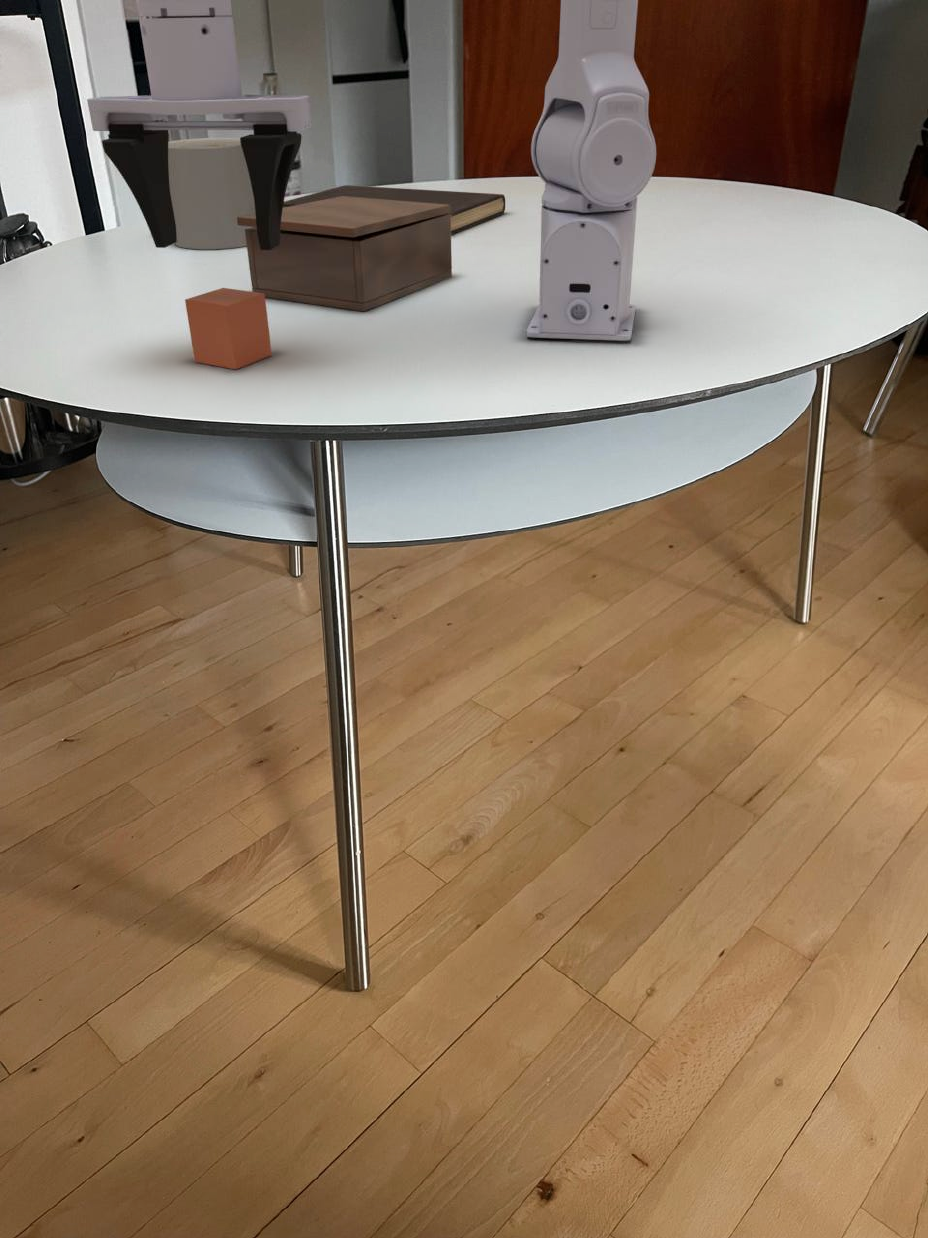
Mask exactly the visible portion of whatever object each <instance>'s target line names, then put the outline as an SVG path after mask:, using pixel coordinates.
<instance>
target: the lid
mask: <svg viewBox="0 0 928 1238" xmlns="http://www.w3.org/2000/svg"><path fill="white" fill-rule="evenodd" d="M450 212H451V210H450V205H446V204H433V203H421V202H409V201H397V200H384V199H372V198H360V197H348V196H340V197H335V198H330V199H325V200H320V201H315V202H310V203H305V204H300V205H295V206H290V207H285V208H283V210H282V217H281V227H280V230H287V231H296V232H306V233H315V234H325V235H335V236H344V237H357V236H361V235H365V234H369V233H373V232H377V231H381V230H385V229H389V228H393V227H397V226H401V225H404V224H408V223H412V222H416V221H420V220H424V219H428V218H432V217H436V216H440V215H444V214H448V213H450ZM237 223H238V225H239V226H248V227H257V225H256V214H255V213H254V214H249V215H244V216H239V217H237Z"/></svg>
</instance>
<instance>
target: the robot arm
mask: <svg viewBox="0 0 928 1238" xmlns="http://www.w3.org/2000/svg"><path fill="white" fill-rule="evenodd" d="M135 2H136V9H137V16H138V18H139V19H138V20H139V27H140V33H141V39H142V46H143V51H144V52H143V53H144V57H145V58H144V59H145V64H146V70H147V77H148V82H149V89H150V95H127V96H126V95H125V96H124V95H123V96H120V95H119V96H117V95H116V96H97V97H90V98H87V99H86V100H87V107H88V112H89V117H90V123H91V127H92V128H91V129H92V131H93V132H108V134H107V136H108V138H106V139H102V140H101V144H102V148H103V152H104V154H105V155H106V156H107V157H108V159H109V160H110V161H111V162H112V164H113V165H114V167H115V168H116V169H117V171H118V172H119V174H120V175H121V177H122V179H123V180H124V182H125V184H126V185H127V186H128V188H129V190H130V191H131V194H132V195H133V197H134V199H135V201H136V203H137V205H138V207H139V210H140V211H141V213H142V215H143V218H144V220H145V222H146V225H147V227H148V230H149V232H150V236H151V238H152V240H153V244H154V246H155V248H161V249H164V248H165V249H166V248H167V247H169V246H172V245H173V244H174V245H175V243H176V242H177V235H176V223H175V217H174V211H173V206H172V200H171V194H170V185H169V168H168V142H169V141H170V140H169V138H170V134H169V131H253V134H251V133H250V134H247V135H244V136H241V137H239V138H240V142H241V147H242V150H243V153H244V157H245V160H246V164H247V168H248V172H249V176H250V181H251V186H252V191H253V196H254V203H255V214H256V225H257V235H258V240H259V245H260V249H261V250H271V249H273V248H275V247H276V246H278V245H280V227H281V217H282V210H283V204H284V201H285V197H286V193H287V188H288V184H289V182H290V181H289V180H290V177H291V174H292V171H293V167H294V163H295V161H296V158H297V156H298V153H299V150H300V148H301V145H302V139H303V138H302V137H303V136H302V134H301V133H300V132H305V131H308V130H311V129H312V116H311V115H312V114H311V103H310V96H309V95H278V94H277V95H275V94H274V95H273V94H244V93H242V84H241V76H240V75H241V74H240V68H239V67H240V66H239V59H238V51H237V41H236V34H235V25H234V17H233V9H232V1H231V0H135ZM638 5H639V0H560V13H559V14H560V15H559V17H560V18H559V37H558V39H559V40H558V57H557V60H556V63H555V65H554V67H553V69H552V71H551V73H550V75H549V78H548V80H547V82H546V84H545V87H544V102H543V105H544V106H543V109H542V113H541V115H540V118H539V120H538V123H537V124H536V127H535V129H534V131H533V135H532V139H531V143H530V154H531V161H532V164H533V168H534V170H535V172H536V174H537V175H538V177H539V178H540V180H541V181H542V182H544V190H543V193H542V196H541V204H542V205H541V213H540V214H541V216H540V217H541V219H540V220H541V221H540V257H539V258H540V259H539V260H540V261H539V262H540V264H539V298H538V300H539V302H538V306H537V308H536V310H535V312H534V314H533V316H532V318H531V320H530V322H529V324H528V327H527V329H526V330H525V331H526V333H525V335H526V337H528V338H535V339H536V338H537V339H565V340H568V339H569V340H591V341H593V340H594V341H595V340H596V341H617V342H618V341H619V342H620V341H621V342H626V341H628V342H629V341H630V340H631V339H632V334H633V329H634V323H635V322H634V321H635V315H636V305H635V304H631V295H632V294H631V293H632V292H631V291H632V281H633V280H632V279H633V265H634V249H635V239H636V238H635V237H636V223H637V209H638V207H637V206H638V196H639V195H640V194H641V193H642V192H643V191H644V190H645V188H646V187H647V185H648V184H649V182H650V181H651V178H652V176H653V173H654V170H655V167H656V166H655V165H656V160H657V144H656V139H655V136H654V133H653V131H652V128H651V124H650V119H649V118H650V117H649V101H650V91H649V88H648V85H647V84H646V81H645V80H644V78H643V76H642V74H641V71H640V70H639V68H638V66H637V63H636V61H635V57H634V56H635V45H636V44H635V43H636V33H637V32H636V31H637V18H638V7H639V6H638ZM216 16H217V17H216ZM152 17H153V18H152ZM154 17H155V18H154ZM202 115H222V117H223V119H224V120H169V119H173V118H177V117H178V116H202Z"/></svg>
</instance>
